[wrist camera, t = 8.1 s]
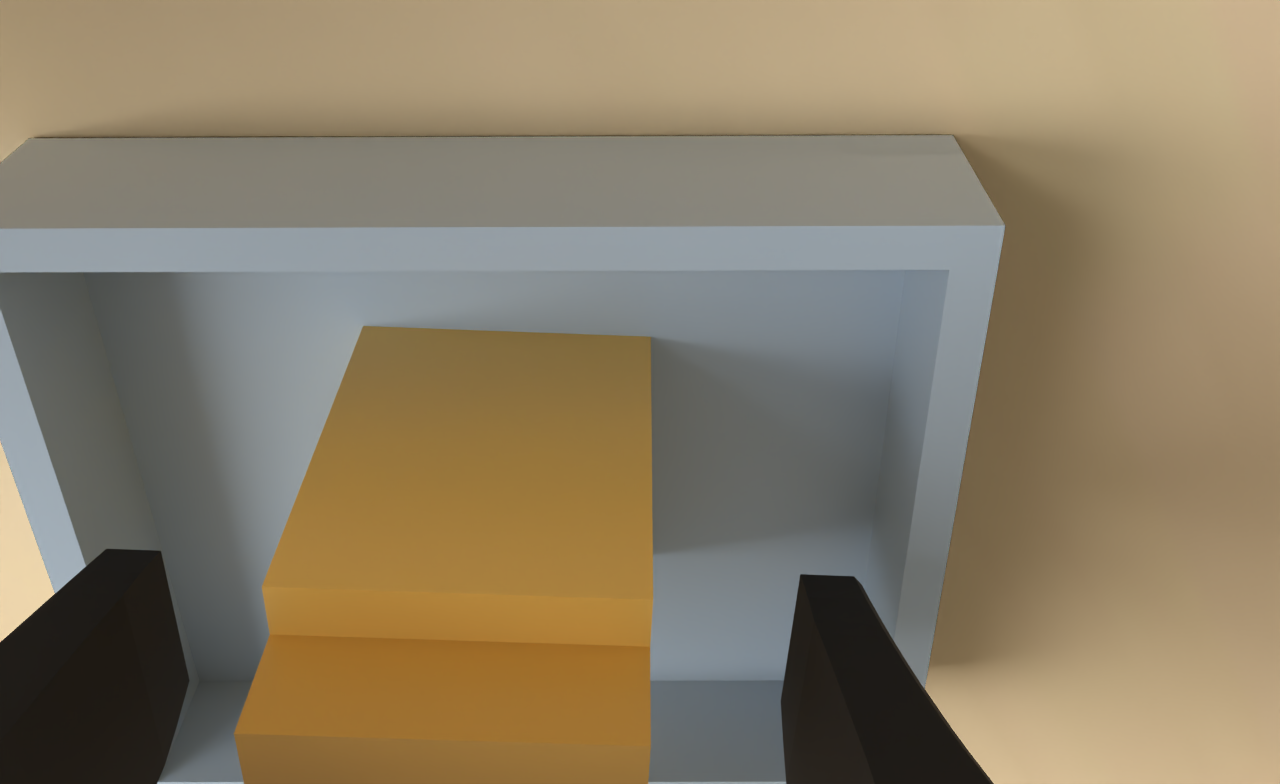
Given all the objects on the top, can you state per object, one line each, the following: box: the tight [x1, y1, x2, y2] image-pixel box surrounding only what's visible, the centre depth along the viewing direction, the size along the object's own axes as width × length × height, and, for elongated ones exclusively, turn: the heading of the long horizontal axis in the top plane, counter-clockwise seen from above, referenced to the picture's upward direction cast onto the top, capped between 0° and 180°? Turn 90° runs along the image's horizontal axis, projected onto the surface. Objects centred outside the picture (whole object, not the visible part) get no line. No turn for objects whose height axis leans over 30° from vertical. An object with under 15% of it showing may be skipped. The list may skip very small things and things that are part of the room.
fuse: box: [234, 326, 653, 784], centre depth 14 cm, size 4×4×6 cm
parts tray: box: [0, 135, 1005, 784], centre depth 16 cm, size 11×9×2 cm
